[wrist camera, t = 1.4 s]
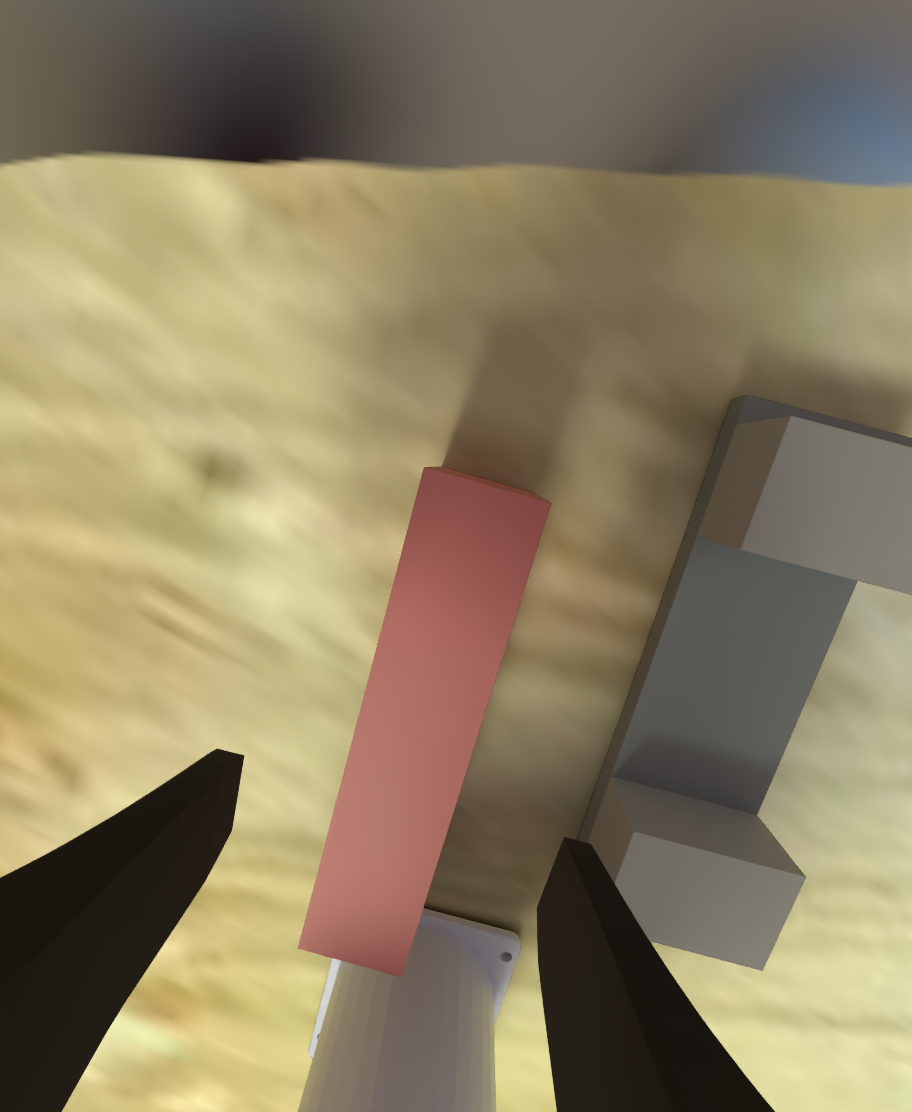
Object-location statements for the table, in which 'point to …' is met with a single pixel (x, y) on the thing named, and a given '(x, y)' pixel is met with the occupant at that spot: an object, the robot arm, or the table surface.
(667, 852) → the display rack
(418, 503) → the frame bar
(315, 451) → the table surface
